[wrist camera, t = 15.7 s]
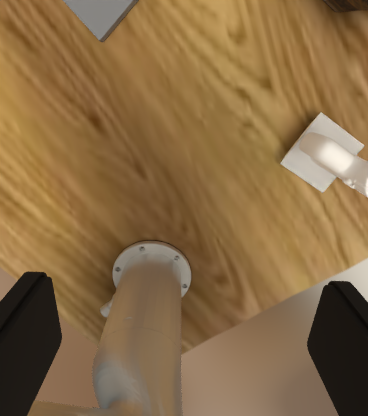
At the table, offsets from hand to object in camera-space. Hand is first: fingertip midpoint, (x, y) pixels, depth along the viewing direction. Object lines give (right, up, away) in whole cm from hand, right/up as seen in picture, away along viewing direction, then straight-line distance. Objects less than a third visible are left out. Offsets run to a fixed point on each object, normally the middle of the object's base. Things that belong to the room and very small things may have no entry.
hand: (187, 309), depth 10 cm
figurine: (+17, +12, +28) cm, 35 cm away
